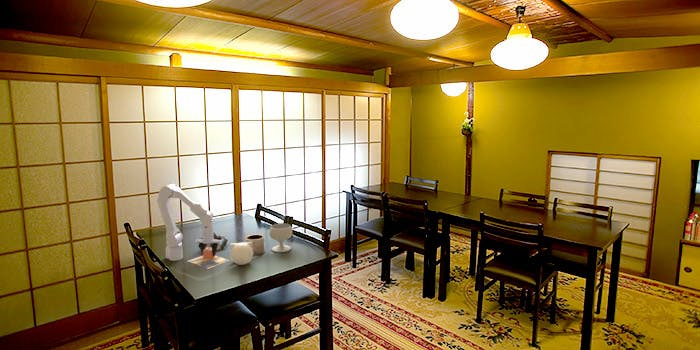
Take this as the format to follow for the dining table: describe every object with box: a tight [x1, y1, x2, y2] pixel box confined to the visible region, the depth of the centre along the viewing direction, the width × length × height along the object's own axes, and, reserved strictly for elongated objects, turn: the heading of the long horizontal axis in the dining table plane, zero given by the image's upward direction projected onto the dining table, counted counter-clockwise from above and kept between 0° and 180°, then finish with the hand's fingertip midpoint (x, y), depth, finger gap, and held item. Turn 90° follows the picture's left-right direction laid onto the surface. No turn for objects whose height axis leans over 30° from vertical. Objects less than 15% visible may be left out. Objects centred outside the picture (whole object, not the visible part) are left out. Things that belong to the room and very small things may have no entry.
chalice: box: [268, 222, 293, 253], centre depth 234 cm, size 14×14×15 cm
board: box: [187, 255, 231, 270], centre depth 214 cm, size 19×14×4 cm
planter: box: [245, 233, 265, 255], centre depth 230 cm, size 11×11×10 cm
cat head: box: [228, 242, 254, 266], centre depth 211 cm, size 15×13×12 cm
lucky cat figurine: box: [200, 231, 228, 252], centre depth 233 cm, size 15×12×14 cm
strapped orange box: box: [202, 247, 216, 259], centre depth 219 cm, size 5×5×5 cm
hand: (209, 255), depth 219 cm, fingers closed on strapped orange box, 5 cm apart
